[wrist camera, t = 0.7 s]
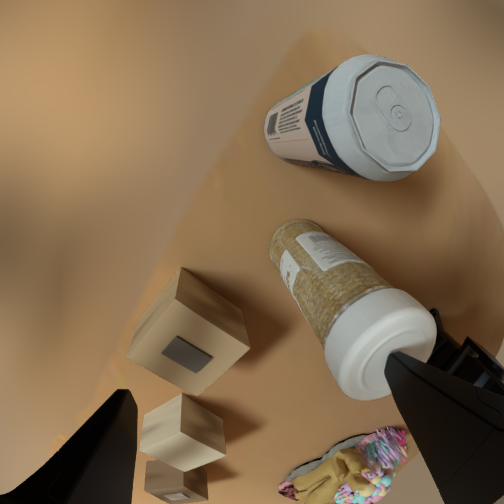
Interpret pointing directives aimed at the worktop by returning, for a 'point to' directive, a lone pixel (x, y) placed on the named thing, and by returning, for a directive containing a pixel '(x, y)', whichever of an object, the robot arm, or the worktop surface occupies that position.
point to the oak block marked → (189, 334)
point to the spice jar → (358, 121)
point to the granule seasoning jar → (350, 308)
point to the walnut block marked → (175, 483)
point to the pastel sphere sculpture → (350, 471)
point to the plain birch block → (183, 434)
